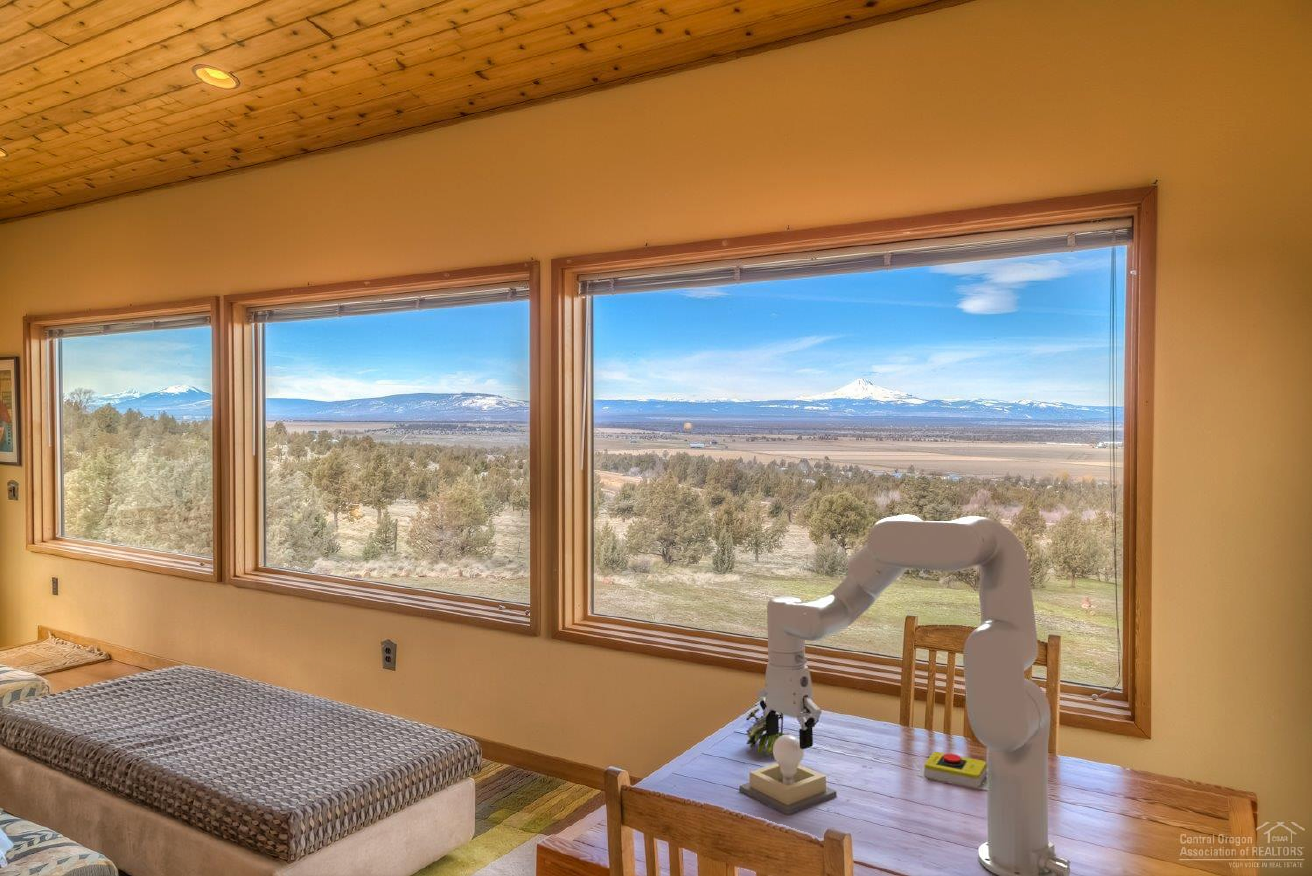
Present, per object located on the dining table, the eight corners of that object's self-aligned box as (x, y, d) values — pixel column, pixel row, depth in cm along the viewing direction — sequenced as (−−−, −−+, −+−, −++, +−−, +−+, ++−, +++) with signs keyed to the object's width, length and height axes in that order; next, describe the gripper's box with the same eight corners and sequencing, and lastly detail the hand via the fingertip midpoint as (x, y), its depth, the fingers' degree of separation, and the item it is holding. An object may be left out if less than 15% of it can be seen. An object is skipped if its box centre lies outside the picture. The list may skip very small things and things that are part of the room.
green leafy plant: (754, 768, 197) (751, 717, 204) (799, 764, 194) (794, 713, 201) (742, 756, 188) (739, 703, 195) (789, 751, 185) (784, 698, 192)
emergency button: (927, 744, 186) (998, 757, 178) (927, 763, 186) (998, 778, 178) (916, 758, 178) (989, 772, 170) (916, 778, 178) (989, 794, 170)
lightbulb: (768, 791, 169) (768, 738, 169) (779, 780, 175) (778, 728, 175) (798, 797, 166) (798, 743, 166) (808, 785, 172) (807, 733, 172)
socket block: (836, 796, 169) (836, 776, 169) (787, 815, 161) (787, 794, 161) (787, 773, 180) (787, 755, 180) (739, 790, 172) (739, 771, 172)
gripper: (830, 663, 165) (833, 748, 165) (770, 647, 179) (772, 726, 179) (804, 669, 161) (807, 757, 161) (744, 653, 175) (747, 734, 175)
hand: (789, 741), depth 170 cm, fingers open, 9 cm apart
